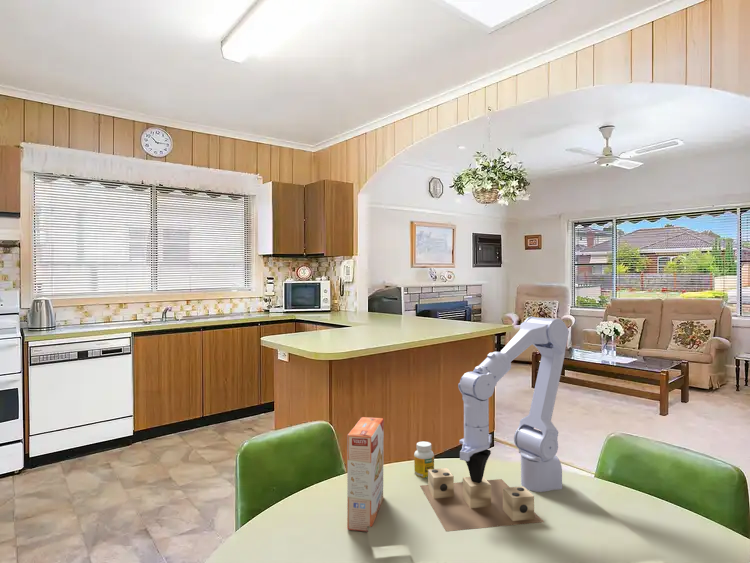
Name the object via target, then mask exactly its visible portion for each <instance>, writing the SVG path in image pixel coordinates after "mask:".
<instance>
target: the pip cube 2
mask: <svg viewBox="0 0 750 563" xmlns="http://www.w3.org/2000/svg"><path fill="white" fill-rule="evenodd" d="M503 510H504V512H505V513H506V514H507V515H508V516H509V517H510V518H511V520H512V521H519V520H529V519H534V512H535V495H533V493H531V492H530V490H528V489H526V488H525V487H524V486H522V485H521V486H511V487H510V486H509V488H503Z"/></svg>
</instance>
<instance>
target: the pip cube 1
mask: <svg viewBox="0 0 750 563" xmlns="http://www.w3.org/2000/svg"><path fill="white" fill-rule="evenodd" d="M454 478H455V477H454V475H453V474H452V473H451V470H449V468H448V467H443V468H434V469H428V478H427V485H428V490H429V492H430V493H431V495H432V497H433V498H434V499H435V498H447V497H454V483H455V481H454V480H455V479H454Z"/></svg>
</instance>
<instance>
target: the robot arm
mask: <svg viewBox="0 0 750 563" xmlns="http://www.w3.org/2000/svg"><path fill="white" fill-rule="evenodd" d="M569 332H570V330H569V328H568V327H567V325H566V322H565V321H563V320H562V319H560V318H547V317H546V318H545V317H536V316H528V317H527V318H526V319H525V320H524V321H523V322H521V323H520V327H519V330H518V332H516V334H515V335H514V336H513V337H512V338H511V339H510V340H509V341H508V342H507V344H505V346H504V347H503V348H502V349H501V350H500V351H493V352H489V353H488V354H487V356H486V358H485V359H484V360H483V361H482V362H481V363H480V364H478V365H477V366H475V367H474V369H473V371H467V372H465V373H464V374H463V375H462V376H461V378H460V379H459V383H458V384H457V385H458V386H457V388H458V390H459V392H460V394H461V396H462V401H463V438H461V439H459V444H461V445H462V446H461V450H460V451H459V460H461V461H464V462H465V463H466V466H467V469H468V472H469V475H470V476H469V477H471V481H473V482H477V483H480V482H481V481H482V479H483V477H484V473H485V469H486V465H487V462H488V460H489V457H490V455H491V454H492V450H490V449H489V448H490V447H491V444H492V434H490V432H489V431H490V428H489V425H490V423H489V420H490V419H489V417H490V416H489V412H490V411H489V405H490V404H489V398H491V397H492V396H493V395H494V392H495V388H496V386H497V384H498V383H499V381H501V379H502V378H503V377H504V376H506V374H507V373H508V372H510V370H511V369H512V361H514V360H515V359H517V357H519V356H520V355H521V354H523V352H525V351H526V350H527V349H528V348H530V347H531V346H533V347H535V348H536V349H537V350H538V352H539V353H540V355H541V358H540V360H539V362H540V363H539V367H538V372H537V376H536V381H535V383H534V384H535V386H534V389H533V395H532V399H531V404H530V407H529V408H530V409H529V414H528V415H526V416H525V417H522V418H521V419H520V420H519V425H518V427H517V428H516V430H515V433H514V436H513V443H514V445H515V447H516V448H517V449H518V453H519V454H520V485H521V486H524V487H525V488H526V489H527V490H528V491H532V492H537V493H545V492H549V491H556V490H563V467H562V464H561V460H560V459H559V458H558V456H557V453H558V450H559V440H558V436H559V430H558V429H557V427H556V426H555V425H554V423H553V422H552V417H553V415H554V414H553V413H554V407H555V403H556V400H557V399H556V398H557V394H558V389H559V384H560V379H561V375H562V370H563V365H564V360H565V356H566V355H565V354H566V348H567V343H568V340H569V339H568V338H569V334H570V333H569Z"/></svg>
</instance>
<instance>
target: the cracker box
mask: <svg viewBox="0 0 750 563" xmlns="http://www.w3.org/2000/svg"><path fill="white" fill-rule="evenodd" d="M384 423H385V421H384V418H383V417H369V416H368V417H367V416H366V417H365V416H362V417H360V418H359V420H358V421H357V423H356V424H355V426H353V428H352V429H351V430H350V431H349V433H348V434H347V445H346V446H347V466H346V467H347V469H346V470H347V476H346V477H347V480H346V481H347V482H346V484H347V485H346V486H347V492H346V493H347V494H346V496H347V502H346V503H347V504H346V505H347V506H346V508H347V513H346V514H347V516H346V517H347V518H346V520H347V522H346V524H347V525H346V526H347V527H346V528H347V530H348V531H357V532H366V533H367V532H369V530H368V527H373V525H374V522H375V520H376V518H377V516H378V512H379V510H380V508H381V505H382V503H383V501H384V500H383V499H384V439H385V438H384V435H385V434H384Z"/></svg>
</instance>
